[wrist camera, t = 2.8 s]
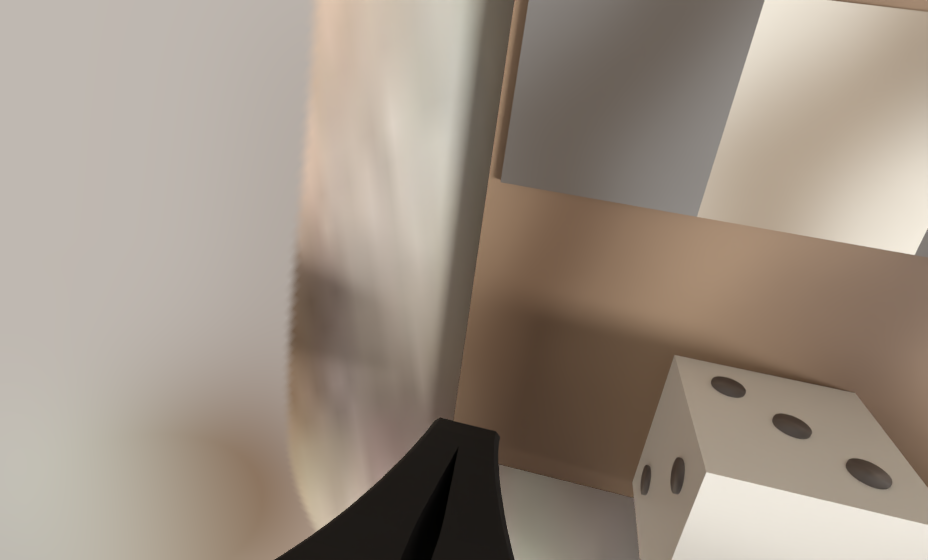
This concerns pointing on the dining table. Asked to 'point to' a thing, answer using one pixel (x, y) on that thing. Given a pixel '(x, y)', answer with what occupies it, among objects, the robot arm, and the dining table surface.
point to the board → (699, 219)
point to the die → (772, 473)
